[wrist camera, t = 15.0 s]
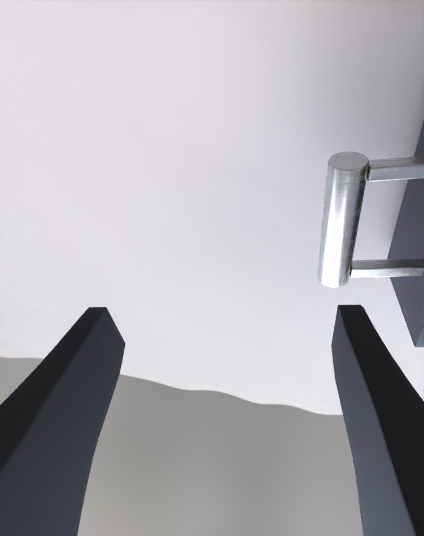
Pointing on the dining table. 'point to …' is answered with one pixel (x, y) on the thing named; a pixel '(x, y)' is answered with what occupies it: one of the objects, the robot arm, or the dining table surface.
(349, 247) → the tray drawer
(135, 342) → the dining table surface
